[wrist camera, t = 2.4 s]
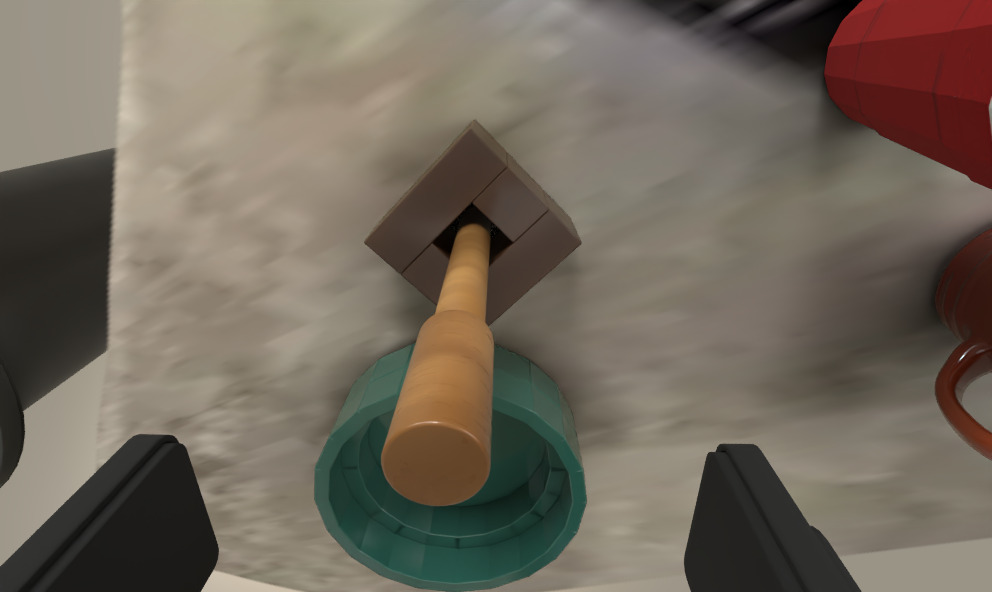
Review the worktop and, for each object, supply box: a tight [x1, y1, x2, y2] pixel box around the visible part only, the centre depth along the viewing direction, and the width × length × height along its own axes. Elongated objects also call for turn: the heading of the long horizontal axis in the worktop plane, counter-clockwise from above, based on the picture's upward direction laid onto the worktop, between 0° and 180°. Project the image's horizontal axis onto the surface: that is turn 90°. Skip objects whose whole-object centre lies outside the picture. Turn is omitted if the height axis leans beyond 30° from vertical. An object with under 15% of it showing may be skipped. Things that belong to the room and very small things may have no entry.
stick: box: [381, 207, 494, 506], centre depth 18 cm, size 2×2×18 cm
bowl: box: [314, 343, 587, 592], centre depth 30 cm, size 15×15×6 cm
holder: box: [364, 120, 582, 326], centre depth 25 cm, size 7×7×4 cm
